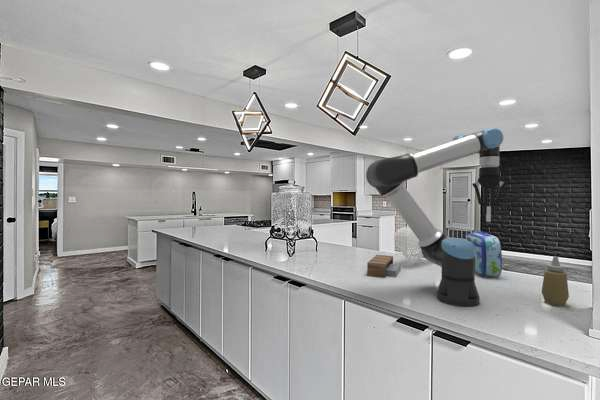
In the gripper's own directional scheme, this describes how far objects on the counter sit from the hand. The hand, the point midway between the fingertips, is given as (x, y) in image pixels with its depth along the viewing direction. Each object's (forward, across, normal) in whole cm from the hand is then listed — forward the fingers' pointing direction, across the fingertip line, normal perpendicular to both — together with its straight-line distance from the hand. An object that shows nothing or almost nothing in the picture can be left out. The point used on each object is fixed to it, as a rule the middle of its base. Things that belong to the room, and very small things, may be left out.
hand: (488, 221), depth 137 cm
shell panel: (+30, +45, -9) cm, 55 cm away
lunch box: (+30, 0, -30) cm, 42 cm away
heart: (+30, +34, -35) cm, 57 cm away
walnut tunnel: (+29, +48, -9) cm, 57 cm away
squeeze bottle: (+30, -21, +11) cm, 38 cm away
